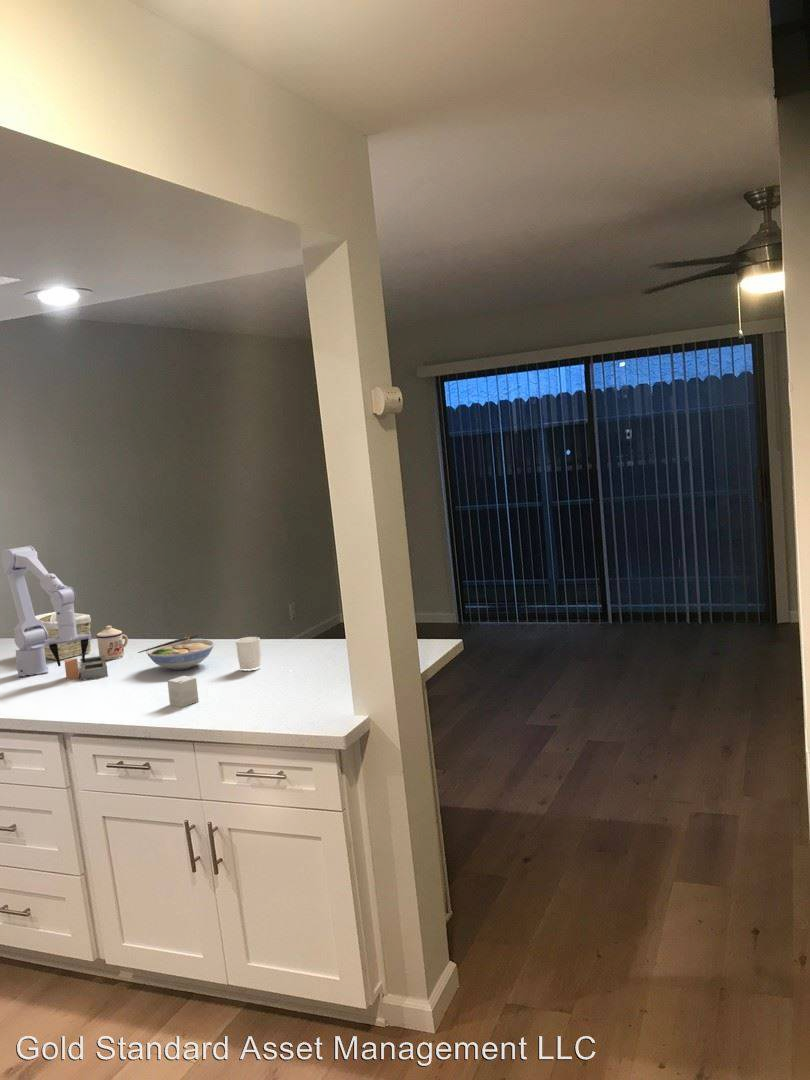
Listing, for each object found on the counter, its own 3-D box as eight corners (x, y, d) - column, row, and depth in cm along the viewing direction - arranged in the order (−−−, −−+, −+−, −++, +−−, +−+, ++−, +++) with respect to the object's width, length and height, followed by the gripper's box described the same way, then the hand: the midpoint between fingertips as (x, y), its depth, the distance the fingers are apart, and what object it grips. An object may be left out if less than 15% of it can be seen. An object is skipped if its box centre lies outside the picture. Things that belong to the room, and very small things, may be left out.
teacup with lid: (109, 661, 325) (105, 629, 324) (93, 659, 331) (90, 627, 329) (136, 653, 335) (133, 622, 334) (121, 651, 340) (117, 621, 339)
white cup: (265, 665, 303) (262, 636, 301) (259, 671, 295) (256, 641, 294) (242, 666, 303) (239, 637, 302) (235, 672, 296) (232, 642, 294)
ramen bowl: (174, 680, 291) (171, 655, 290) (130, 673, 305) (128, 649, 304) (232, 661, 311) (230, 638, 310) (189, 655, 325) (187, 633, 324)
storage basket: (23, 656, 345) (19, 618, 344) (63, 646, 358) (59, 609, 356) (56, 662, 330) (51, 622, 328) (96, 652, 342) (92, 614, 341)
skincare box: (186, 699, 269) (183, 675, 268) (199, 701, 265) (196, 677, 264) (169, 704, 264) (166, 680, 263) (182, 707, 260) (179, 682, 259)
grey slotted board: (107, 676, 303) (106, 667, 303) (82, 680, 301) (81, 671, 300) (105, 663, 322) (104, 655, 322) (81, 667, 319) (80, 658, 319)
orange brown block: (66, 679, 303) (64, 662, 302) (66, 677, 306) (64, 659, 306) (79, 678, 304) (77, 660, 303) (79, 675, 308) (77, 658, 307)
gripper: (43, 629, 297) (48, 669, 298) (89, 623, 302) (94, 662, 303) (43, 625, 303) (48, 665, 305) (89, 619, 308) (93, 658, 310)
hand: (71, 663), depth 305 cm, fingers open, 7 cm apart
